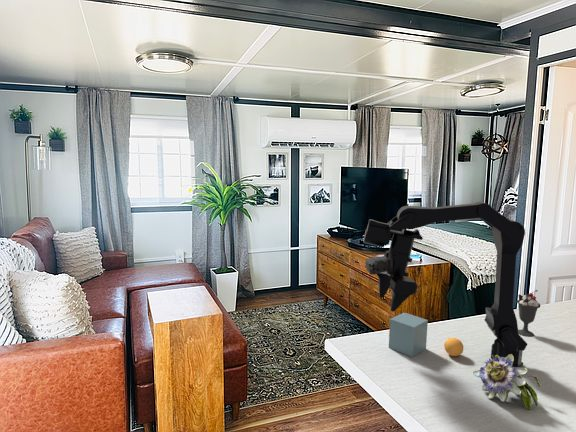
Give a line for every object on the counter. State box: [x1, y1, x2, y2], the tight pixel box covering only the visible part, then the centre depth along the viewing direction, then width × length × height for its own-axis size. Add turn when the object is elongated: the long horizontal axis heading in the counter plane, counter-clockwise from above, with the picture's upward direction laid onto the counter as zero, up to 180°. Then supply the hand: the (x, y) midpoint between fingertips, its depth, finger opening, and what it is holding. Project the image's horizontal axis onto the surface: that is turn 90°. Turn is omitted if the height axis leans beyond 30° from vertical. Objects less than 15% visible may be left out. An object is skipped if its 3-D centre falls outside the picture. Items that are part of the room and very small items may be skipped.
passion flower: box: [472, 354, 541, 411], centre depth 92 cm, size 11×11×12 cm
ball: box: [443, 337, 464, 357], centre depth 111 cm, size 5×5×5 cm
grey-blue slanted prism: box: [388, 312, 429, 358], centre depth 115 cm, size 8×8×9 cm
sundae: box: [516, 289, 541, 337], centre depth 125 cm, size 7×7×15 cm
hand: (386, 303), depth 110 cm, fingers open, 9 cm apart
